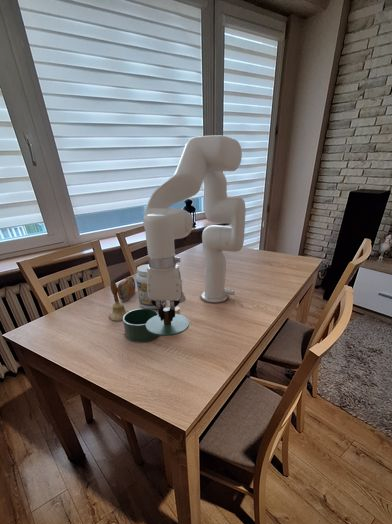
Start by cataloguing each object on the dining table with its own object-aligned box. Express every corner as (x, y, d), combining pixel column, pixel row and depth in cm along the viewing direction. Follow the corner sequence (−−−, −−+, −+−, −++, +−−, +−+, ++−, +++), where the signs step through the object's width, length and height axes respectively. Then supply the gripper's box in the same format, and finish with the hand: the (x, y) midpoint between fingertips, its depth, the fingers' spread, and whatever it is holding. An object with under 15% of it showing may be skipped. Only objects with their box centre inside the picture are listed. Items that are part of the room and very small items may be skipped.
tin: (124, 303, 127) (121, 286, 122) (118, 303, 128) (114, 285, 123) (136, 290, 139) (134, 274, 134) (131, 290, 140) (128, 274, 135)
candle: (180, 318, 114) (180, 303, 110) (179, 324, 110) (178, 309, 106) (169, 318, 114) (168, 303, 110) (168, 324, 110) (166, 309, 107)
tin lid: (185, 314, 97) (184, 298, 94) (193, 334, 86) (192, 317, 82) (145, 318, 95) (142, 302, 91) (147, 340, 83) (144, 322, 80)
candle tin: (159, 322, 112) (157, 306, 108) (162, 339, 101) (160, 322, 97) (126, 326, 110) (123, 310, 106) (125, 344, 99) (122, 327, 95)
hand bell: (120, 322, 112) (112, 285, 103) (105, 317, 116) (97, 281, 107) (134, 314, 118) (128, 278, 109) (120, 310, 122) (113, 275, 112)
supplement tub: (134, 307, 123) (128, 270, 113) (147, 297, 132) (143, 262, 123) (159, 311, 120) (155, 273, 110) (170, 300, 129) (167, 264, 119)
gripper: (191, 257, 81) (192, 313, 91) (137, 257, 82) (145, 313, 92) (189, 266, 75) (191, 325, 85) (131, 265, 76) (140, 324, 86)
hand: (167, 318), depth 89 cm, fingers closed on tin lid, 2 cm apart
